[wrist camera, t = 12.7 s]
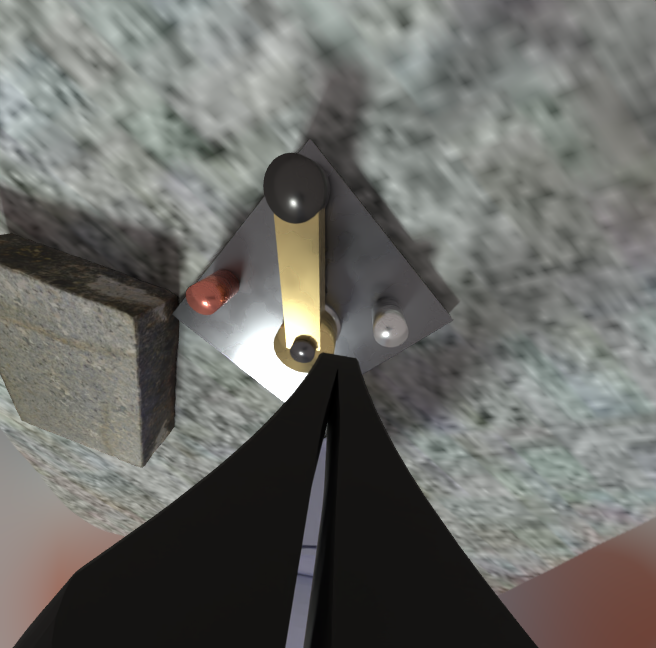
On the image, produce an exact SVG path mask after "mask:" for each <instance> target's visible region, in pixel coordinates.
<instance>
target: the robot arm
mask: <svg viewBox="0 0 656 648" xmlns="http://www.w3.org/2000/svg"><path fill="white" fill-rule="evenodd" d="M327 422H328V424H327ZM326 427H327V437H326V438H324V435H325V431H326ZM13 648H538V647H537V646H536V644H535V643H534V642H533V641H532V640H531V638H530V637H529V636H528V634H527V633H526V632H525V631H524V629H523V628H522V627H521V626H520V624H519V623H518V622H517V621H516V619H515V618H514V617H513V615H512V614H511V613H510V612H509V610H508V609H507V608H506V606H505V605H504V604H503V603H502V601H501V600H500V599H499V598H498V596H497V595H496V594H495V592H494V591H493V590H492V589H491V587H490V586H489V585H488V583H487V582H486V581H485V579H484V578H483V577H482V575H481V574H480V573H479V571H478V570H477V569H476V567H475V566H474V565H473V563H472V562H471V561H470V559H469V558H468V557H467V555H466V554H465V553H464V551H463V550H462V549H461V547H460V546H459V545H458V543H457V542H456V540H455V539H454V537H453V536H452V535H451V533H450V532H449V530H448V529H447V527H446V526H445V524H444V523H443V522H442V520H441V519H440V517H439V516H438V514H437V513H436V512H435V510H434V509H433V507H432V506H431V504H430V503H429V501H428V500H427V499H426V497H425V496H424V494H423V493H422V491H421V489H420V488H419V486H418V485H417V483H416V482H415V480H414V478H413V477H412V475H411V474H410V472H409V470H408V469H407V467H406V465H405V464H404V462H403V460H402V459H401V457H400V455H399V453H398V452H397V450H396V448H395V446H394V445H393V443H392V441H391V439H390V437H389V435H388V433H387V431H386V429H385V427H384V425H383V423H382V421H381V419H380V417H379V415H378V413H377V411H376V409H375V406H374V404H373V402H372V399H371V397H370V395H369V392H368V390H367V387H366V384H365V382H364V379H363V376H362V373H361V369H360V366H359V362H358V360H357V359H356V358H352V357H347V356H341V355H335V354H330V353H324V352H322V353H320V354H319V356H318V358H317V360H316V362H315V363H314V365H313V367H312V368H311V370H310V371H309V372H308V374H307V375H306V377H305V378H304V379H303V381H302V382H301V383H300V385H299V386H298V387H297V389H296V390H295V391H294V392H293V394H292V395H291V396H290V397H289V398H288V399H287V400H286V402H285V403H284V404H283V405H282V406H281V407H280V408H279V410H278V411H277V412H276V413H275V414H274V415H273V416H272V417H271V418H270V419H269V420H268V421H267V422H266V423H265V424H264V425H263V426H262V427H261V428H260V429H259V430H258V431H257V432H256V433H255V434H254V435H253V436H252V437H251V438H250V439H249V440H248V441H246V442H245V443H244V444H243V445H242V446H241V447H240V448H239V449H238V450H236V451H235V452H234V453H233V454H232V455H231V456H230V457H229V458H227V459H226V460H225V461H224V462H223V463H222V464H220V465H219V466H218V467H217V468H216V469H214V470H213V471H212V472H211V473H209V474H208V475H207V476H206V477H204V478H203V479H202V480H201V481H199V482H198V483H197V484H195V485H194V486H193V487H192V488H190V489H189V490H188V491H186V492H185V493H184V494H183V495H181V496H180V497H179V498H178V499H176V500H175V501H174V502H172V503H171V504H170V505H169V506H167V507H166V508H165V509H163V510H162V511H160V512H159V513H158V514H156V515H155V516H154V517H152V518H151V519H149V520H148V521H147V522H145V523H144V524H142V525H141V526H140V527H138V528H137V529H135V530H134V531H133V532H131V533H130V534H128V535H127V536H125V537H124V538H123V539H121V540H120V541H119V542H117V543H116V544H114V545H113V546H111V547H110V548H109V549H107V550H106V551H104V552H103V553H101V554H100V555H99V556H97V557H96V558H94V559H93V560H92V561H90V562H89V563H87V564H86V565H84V566H83V567H82V568H80V569H79V570H78V571H77V572H75V574H73V576H72V577H71V578H70V579H69V581H68V582H67V583H66V584H65V585H64V586H63V588H62V589H61V590H60V591H59V592H58V593H57V595H56V596H55V597H54V598H53V599H52V600H51V602H50V603H49V604H48V605H47V606H46V607H45V609H43V611H42V612H41V613H40V614H39V615H38V617H37V618H36V619H35V620H34V621H33V623H32V624H31V625H30V626H29V628H28V629H27V630H26V631H25V632H24V634H23V635H22V637H21V638H20V639H19V640H18V642H17V643H16V644H15V646H14V647H13Z"/></svg>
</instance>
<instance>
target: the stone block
mask: <svg viewBox="0 0 656 648" xmlns="http://www.w3.org/2000/svg"><path fill="white" fill-rule="evenodd" d="M178 306H179V303H178V297H177V296H176V295H175V294H173V293H171V292H170V291H169V290H166V289H163V288H161V287H158V286H155V285H152V284H149V283H146V282H143V281H140V280H138V279H137V278H133V277H130V276H128V275H126V274H123V273H121V272H118V271H115V270H112V269H108V268H106V267H104V266H101V265H98V264H95V263H92V262H90V261H88V260H85V259H82V258H79V257H76V256H72V255H69V254H67V253H65V252H62V251H59V250H56V249H53V248H50V247H47V246H45V245H42V244H39V243H36V242H34V241H32V240H29V239H26V238H23V237H20V236H17V235H14V234H12V233H11V234H4V235H0V375H1V377H2V379H3V381H4V383H5V386H6V388H7V390H8V392H9V394H10V397H11V399H12V401H13V403H14V405H15V408H16V410H17V412H18V414H19V416H20V418H21V420H22V421H25V422H27V423H29V424H31V425H34V426H37V427H39V428H41V429H44V430H46V431H49V432H52V433H55V434H57V435H60V436H63V437H65V438H67V439H70V440H72V441H75V442H78V443H80V444H83V445H85V446H87V447H90V448H94V449H96V450H99V451H101V452H103V453H106V454H108V455H111V456H115V457H117V458H118V459H119V460H122V461H125V462H127V463H130V464H132V465H135V466H138V467H141V468H142V467H144V466H145V465H146V463H147V462H148V460H149V459H150V457H151V456H152V454H153V453H154V452H155V451H156V449H157V448H158V447H159V446H160V445H161V444H162V442H163V441H164V440H165V439H166V437H167V436H168V435H169V434H170V432H171V431H172V429H173V428H174V417H175V411H174V406H175V373H176V351H177V347H178V341H179V319H177V318H176V317H175V316H173V315H172V314H173V312H174V311H175V310H176V309H177V307H178Z"/></svg>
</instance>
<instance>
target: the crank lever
mask: <svg viewBox="0 0 656 648" xmlns="http://www.w3.org/2000/svg"><path fill="white" fill-rule="evenodd" d="M263 187H264V195H265V199H266V201H267V204H268V206H269V207H270V209H271V210H272V212H273V213H274V222H275V232H276V242H277V252H278V263H279V273H280V283H281V293H282V304H283V314H284V321H283V323H282V325H281V326H280V328H279V330H278V332H277V333H276V335H275V337H274V342H273V347H274V351H275V354H276V356H277V357H278V359H279V360H280V361H281V362H282V363H283V364H284V365H285V366H287V367H288V368H290V369H292V370H294V371H297V372H301V373H308V372H309V371H310V370H311V368H312V367H313V365H314V363H315V362H316V360H317V358H318V356H319V354H320V353H322V352H324V353H330V354H334V351H335V345H336V338H337V325H336V322H335V320H334V318H333V317H332V316H331V315H330V313H328V312H327V311H326V310H325V207H326V205H327V203H328V201H329V198H330V191H331V188H330V181H329V178H328V175H327V173H326V172H325V170H324V169H323V168H322V167H321V166H320V165H319V164H318V163H317V162H315V161H313V160H311V159H309V158H307V157H305V156H303V155H301V154H297V153H286V154H283V155H280V156H278V157H277V158H275V159H274V160H273V161H272V162H271V164H270V165H269V167H268V168H267V171H266V173H265V177H264V185H263Z"/></svg>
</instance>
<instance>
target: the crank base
mask: <svg viewBox="0 0 656 648" xmlns="http://www.w3.org/2000/svg"><path fill="white" fill-rule="evenodd" d="M298 154H301V155H303V156H305V157H307V158H309V159H311V160H313V161H315V162H317V163H318V164H319V165H320V166H321V167H322V168H323V169H324V170H325V172H326V173H327V175H328V178H329V181H330V188H331V191H330V198H329V201H328V203H327V205H326V207H325V310H326V311H327V312H328V313H330V315H331V316H332V317H333V318H334V320H335V322H336V325H337V338H336V345H335V351H334V354H335V355H341V356H347V357H352V358H356V359H357V360H358V362H359V366H360V369H361V373H362V374H364V373H366V372H367V371H369V370H371V369H373V368H374V367H376V366H378V365H379V364H381V363H383V362H384V361H386V360H388V359H389V358H391V357H393V356H394V355H396V354H398V353H399V352H401V351H403V350H404V349H406V348H408V347H409V346H411V345H413V344H414V343H416V342H418V341H419V340H421V339H423V338H425V337H426V336H428V335H430V334H431V333H433V332H435V331H436V330H438V329H440V328H441V327H443V326H445V325H446V324H448V323H450V322H451V321H453V319H452V318H451V316H450V315H449V313H448V312H447V311H446V310H445V308H444V307H443V306H442V304H441V303H440V302H439V301H438V299H437V298H436V297H435V296H434V294H433V293H432V292H431V291H430V289H429V288H428V287H427V285H426V284H425V283H424V282H423V280H422V279H421V278H420V277H419V275H418V274H417V273H416V271H415V270H414V269H413V268H412V266H411V265H410V264H409V263H408V261H407V260H406V259H405V258H404V256H403V255H402V254H401V252H400V251H399V250H398V249H397V247H396V246H395V245H394V244H393V242H392V241H391V240H390V238H389V237H388V236H387V235H386V233H385V232H384V231H383V230H382V228H381V227H380V226H379V225H378V223H377V222H376V221H375V219H374V218H373V217H372V216H371V214H370V213H369V212H368V211H367V209H366V208H365V207H364V206H363V204H362V203H361V202H360V200H359V199H358V198H357V197H356V195H355V194H354V193H353V192H352V190H351V189H350V188H349V186H348V185H347V184H346V183H345V181H344V180H343V179H342V178H341V176H340V175H339V174H338V173H337V171H336V170H335V169H334V167H333V166H332V165H331V164H330V162H329V161H328V160H327V159H326V157H325V156H324V155H323V154H322V152H321V151H320V150H319V148H318V147H317V146H316V145H315V143H314V142H313V141H312V140H311V139H309V140H308V141H307V143H306V144H305V145H304V147H303V148H302V149H301V150H300V152H299V153H298ZM172 315H173V316H175V317H176V318H177V319H179V320H180V321H181V322H182V323H184V324H185V325H186V326H188V327H189V328H190V329H191V330H193V331H194V332H195V333H196V334H198V335H199V336H200V337H202V338H203V339H204V340H205V341H207V342H208V343H209V344H211V345H212V346H213V347H214V348H216V349H217V350H218V351H220V352H221V353H222V354H223V355H225V356H226V357H227V358H229V359H230V360H231V361H232V362H234V363H235V364H236V365H238V366H239V367H240V368H241V369H243V370H244V371H245V372H246V373H248V374H249V375H250V376H252V377H253V378H254V379H255V380H257V381H258V382H259V383H261V384H262V385H263V386H264V387H266V388H267V389H268V390H270V391H271V392H272V393H273V394H275V395H276V396H277V397H279V398H280V399H281V400H282V401H284V402H286V400H287V399H288V398H289V397H290V396H291V395H292V394H293V392H294V391H295V390H296V389H297V387H298V386H299V385H300V383H301V382H302V381H303V379H304V378H305V377H306V375H307V374H308V373H301V372H297V371H294V370H292V369H290V368H288V367H287V366H285V365H284V364H283V363H282V362H281V361H280V360H279V359H278V357H277V356H276V354H275V351H274V347H273V342H274V337H275V335H276V333H277V332H278V330H279V328H280V326H281V325H282V323H283V321H284V314H283V304H282V293H281V283H280V273H279V263H278V252H277V242H276V232H275V222H274V213H273V212H272V210H271V209H270V207H269V206H268V204H267V201H266V199H265V196H264V198H263V199H262V200H261V201H260V203H259V204H258V205H257V207H256V208H255V209H254V210H253V212H252V213H251V214H250V215H249V217H248V218H247V219H246V221H245V222H244V223H243V224H242V226H241V227H240V228H239V229H238V231H237V232H236V233H235V235H234V236H233V237H232V238H231V240H230V241H229V242H228V243H227V245H226V246H225V247H224V249H223V250H222V251H221V252H220V254H219V255H218V256H217V258H216V259H215V260H214V261H213V263H212V264H211V265H210V266H209V268H208V269H207V270H206V272H205V273H204V274H203V275H202V277H201V278H200V279H199V280H198V282H197V283H195V284H194V285H192V286H190V287H189V288H188V289H187V291H186V297H185V298H184V300H183V301H182V302H181V303H180V305H179V306H178V307H177V309H176V310H175V311H174V312H173V314H172Z"/></svg>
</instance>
